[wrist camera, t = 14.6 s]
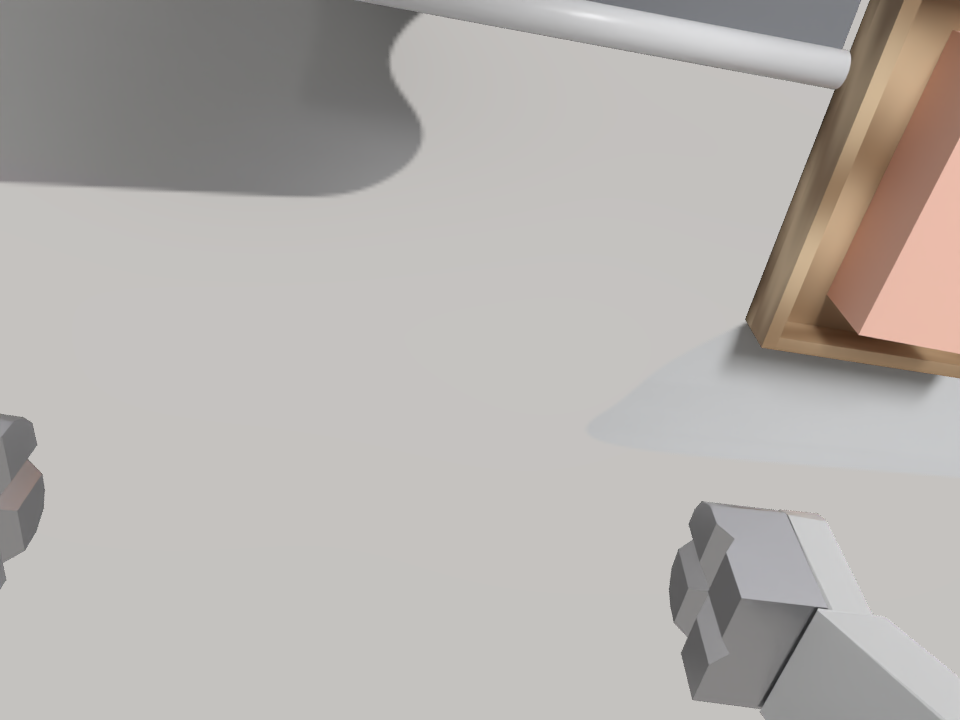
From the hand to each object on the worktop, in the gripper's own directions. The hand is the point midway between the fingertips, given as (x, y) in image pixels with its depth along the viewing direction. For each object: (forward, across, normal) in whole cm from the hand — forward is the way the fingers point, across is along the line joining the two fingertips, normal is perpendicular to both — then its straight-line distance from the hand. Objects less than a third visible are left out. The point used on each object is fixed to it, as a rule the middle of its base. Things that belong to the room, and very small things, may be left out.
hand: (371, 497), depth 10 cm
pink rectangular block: (+24, -20, +2) cm, 31 cm away
